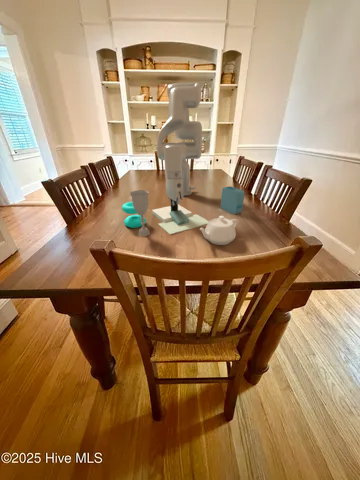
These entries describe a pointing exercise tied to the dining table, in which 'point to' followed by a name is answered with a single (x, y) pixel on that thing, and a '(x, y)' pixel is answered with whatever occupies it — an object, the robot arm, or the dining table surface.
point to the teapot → (220, 230)
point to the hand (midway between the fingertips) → (174, 212)
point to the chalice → (141, 208)
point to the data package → (232, 200)
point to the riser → (168, 213)
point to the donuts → (132, 216)
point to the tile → (179, 217)
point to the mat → (174, 228)
